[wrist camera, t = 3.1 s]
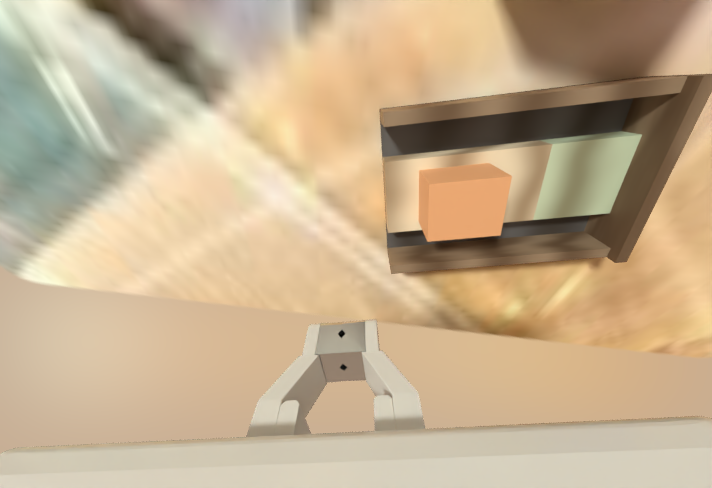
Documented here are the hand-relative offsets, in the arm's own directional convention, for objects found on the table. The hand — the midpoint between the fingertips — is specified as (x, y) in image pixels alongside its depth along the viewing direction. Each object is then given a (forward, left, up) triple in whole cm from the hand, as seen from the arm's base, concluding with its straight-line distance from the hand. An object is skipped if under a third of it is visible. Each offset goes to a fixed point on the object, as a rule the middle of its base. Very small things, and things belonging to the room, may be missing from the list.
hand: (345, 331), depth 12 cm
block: (-9, 0, -15) cm, 18 cm away
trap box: (-14, 0, -18) cm, 23 cm away
